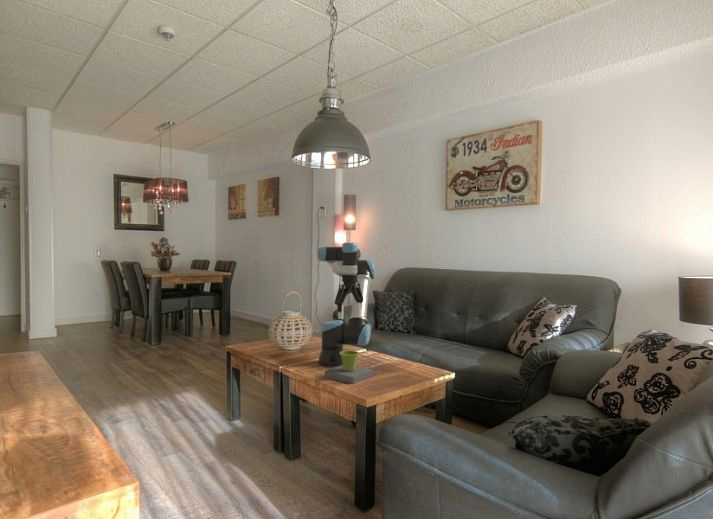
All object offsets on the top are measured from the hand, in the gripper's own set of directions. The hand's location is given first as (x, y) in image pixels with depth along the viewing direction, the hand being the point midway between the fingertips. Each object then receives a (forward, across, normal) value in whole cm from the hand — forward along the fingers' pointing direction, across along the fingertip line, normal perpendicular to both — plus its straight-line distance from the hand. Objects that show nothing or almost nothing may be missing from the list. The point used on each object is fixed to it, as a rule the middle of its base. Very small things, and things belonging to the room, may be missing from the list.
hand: (349, 317), depth 209 cm
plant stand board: (+29, 0, 0) cm, 29 cm away
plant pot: (+26, 0, 0) cm, 27 cm away
